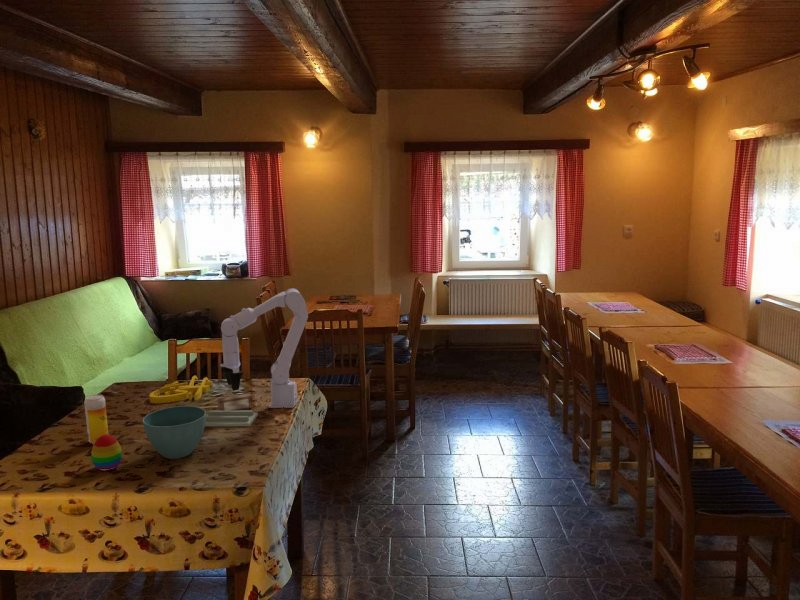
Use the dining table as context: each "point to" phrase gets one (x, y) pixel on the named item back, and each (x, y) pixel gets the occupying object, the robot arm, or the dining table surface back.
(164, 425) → the teal bowl
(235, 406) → the brown box
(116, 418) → the dining table surface
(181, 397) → the decorative art
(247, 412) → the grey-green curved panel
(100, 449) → the decorative egg
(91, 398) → the yellow bottle
